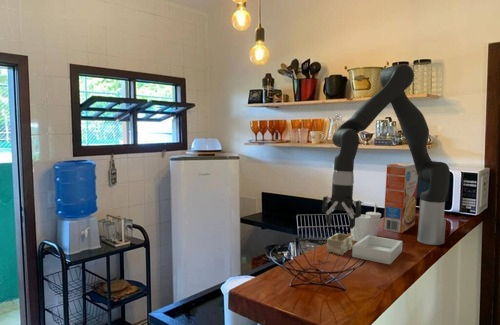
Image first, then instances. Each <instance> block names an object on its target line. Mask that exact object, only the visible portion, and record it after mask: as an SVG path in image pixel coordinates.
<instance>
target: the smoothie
mask: <svg viewBox="0 0 500 325" xmlns="http://www.w3.org/2000/svg"><path fill="white" fill-rule="evenodd" d="M376 211H377V203H374V211H367V212H365V215H368V216H371V222H370V231H369V235H370V236H376V237H378V232H379V226H380V221H381V217H382V213H380V212H376Z"/></svg>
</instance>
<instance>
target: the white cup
mask: <svg viewBox="0 0 500 325" xmlns="http://www.w3.org/2000/svg"><path fill="white" fill-rule="evenodd" d="M370 222H371V216H368V215H366V214H362V213H361V216H360V217H358V218H355V226H354V227H353V228H352V229H350V235H352V236H353V240H352V242H355V243H357V242H359V241H360V240H361V239H363V238H364V237H366V236H367V235H369V231H370Z"/></svg>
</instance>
